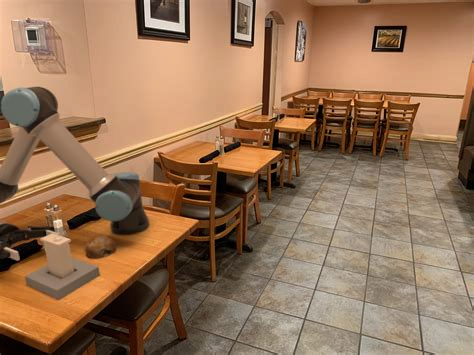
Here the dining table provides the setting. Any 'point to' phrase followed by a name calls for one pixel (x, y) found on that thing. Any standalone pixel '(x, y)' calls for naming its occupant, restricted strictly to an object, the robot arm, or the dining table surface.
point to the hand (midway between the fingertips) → (39, 246)
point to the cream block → (58, 255)
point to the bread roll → (100, 246)
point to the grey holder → (62, 286)
